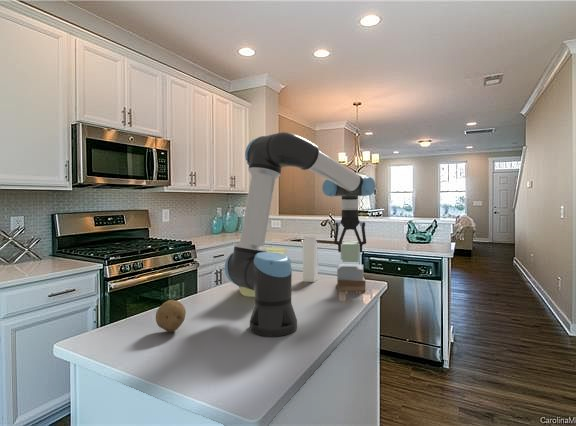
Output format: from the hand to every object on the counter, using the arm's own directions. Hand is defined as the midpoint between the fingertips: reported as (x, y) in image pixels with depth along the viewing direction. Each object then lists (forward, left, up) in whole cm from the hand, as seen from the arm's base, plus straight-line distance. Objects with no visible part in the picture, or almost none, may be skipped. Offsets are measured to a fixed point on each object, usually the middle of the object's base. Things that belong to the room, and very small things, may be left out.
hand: (350, 259), depth 157 cm
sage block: (0, 0, -1) cm, 1 cm away
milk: (+12, +19, -13) cm, 26 cm away
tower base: (0, 0, -13) cm, 13 cm away
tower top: (0, 0, -8) cm, 8 cm away
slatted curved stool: (-12, +40, -13) cm, 43 cm away
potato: (-59, +58, -13) cm, 84 cm away
